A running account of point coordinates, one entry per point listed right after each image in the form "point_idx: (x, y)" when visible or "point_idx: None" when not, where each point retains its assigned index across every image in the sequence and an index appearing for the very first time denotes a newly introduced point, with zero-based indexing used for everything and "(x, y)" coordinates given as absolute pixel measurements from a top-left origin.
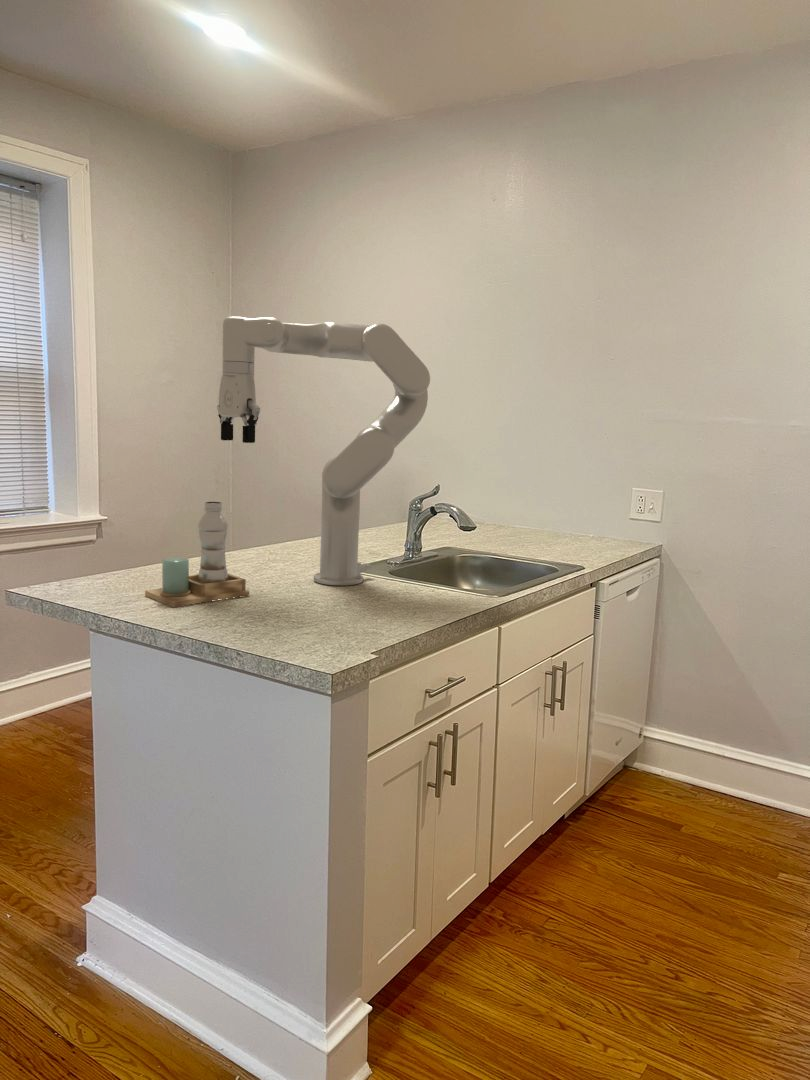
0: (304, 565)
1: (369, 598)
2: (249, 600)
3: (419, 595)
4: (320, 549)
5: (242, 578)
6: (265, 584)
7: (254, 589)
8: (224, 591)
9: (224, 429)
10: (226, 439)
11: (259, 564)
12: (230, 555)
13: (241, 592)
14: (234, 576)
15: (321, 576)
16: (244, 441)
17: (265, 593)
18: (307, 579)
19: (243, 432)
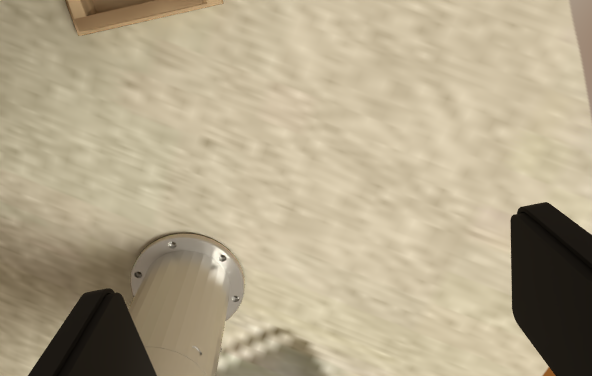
0: (371, 279)
1: (14, 270)
2: (38, 17)
3: (24, 359)
4: (190, 291)
5: (92, 27)
6: (201, 121)
7: (154, 74)
8: None
9: (585, 300)
10: (514, 253)
11: (428, 191)
12: (572, 165)
13: (69, 10)
14: (123, 14)
15: (183, 251)
16: (85, 301)
17: (105, 84)
18: (225, 229)
19: (40, 364)
